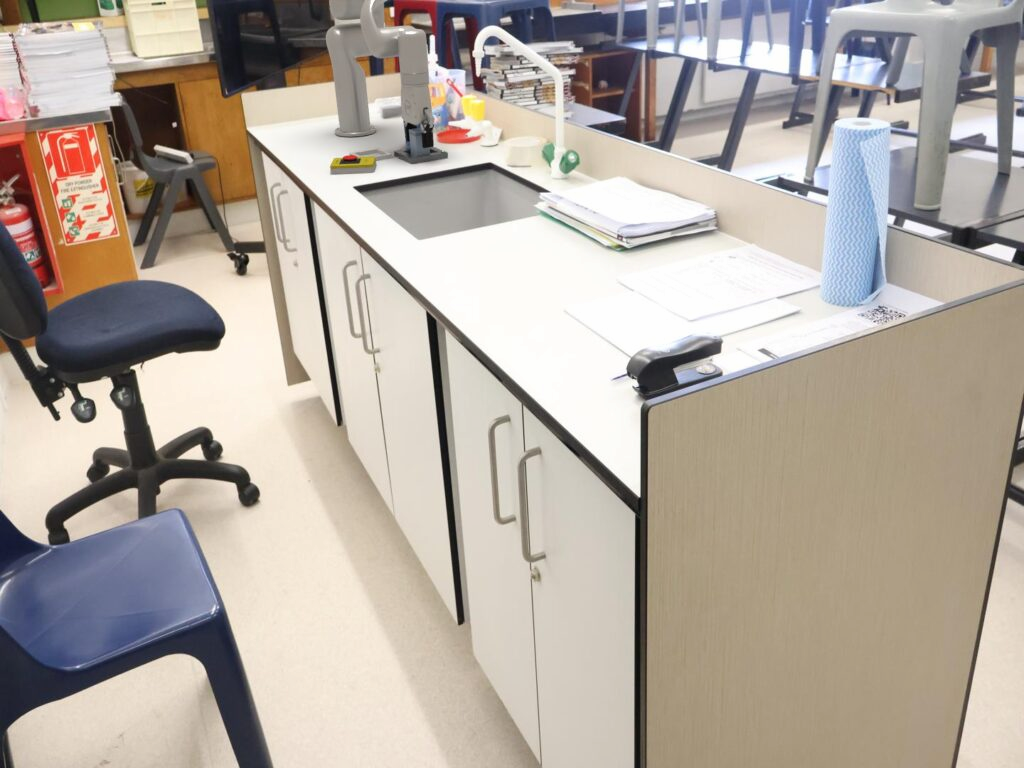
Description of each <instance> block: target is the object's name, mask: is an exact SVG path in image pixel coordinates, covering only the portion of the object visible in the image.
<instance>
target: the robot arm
mask: <svg viewBox="0 0 1024 768" xmlns="http://www.w3.org/2000/svg"><path fill="white" fill-rule="evenodd" d="M328 1H329V2H328V4H329V5H328V6H329V11H330V13H331V14H330V15H331V16H332V17H333V18H334V19H335V20H339V21H353V20H359V21H360V22H351V23H342V24H336V25H333V26H331V27H330V28H328V30H327V32H326V34H325V41H326V42H325V43H326V44H325V45H326V47H327V51H328V55H329V58H330V62H331V66H332V67H331V68H332V74H333V82H334V84H333V85H334V90H335V97H336V107H337V115H338V116H337V117H338V126H339V127H337V128H335V129H334V133H335V135H336V136H339V137H347V138H350V137H351V138H353V137H354V138H355V137H361V136H362V137H364V136H368V135H372V134H375V132H377V130H376V126H374V125H371V119H370V108H369V99H368V89H367V78H366V73H365V70H364V67H362V66H361V65H360V63H359V62H358V61H357V58H360V57H363V58H364V57H371V56H372V57H374V58H377V59H388V58H395V57H398V61H399V71H400V73H399V74H400V86H401V87H400V88H401V89H400V109H401V111H400V112H401V119H402V120H404V121H405V122H404V123H403V126H404V125H405V130H406V140H405V142H406V141H408V142H410V136H409V129H415V128H417V126H416V125H419V124H420V126H421V129H422V131H423V133H421V135H422V147H423V148H429V147H435V145H434V141H435V140H434V127H435V116H434V115H433V109H432V100H431V93H430V88H429V85H430V72H429V57H428V45H427V43H428V42H427V33H426V32H425V31H424V30H423V29H418V28H415V27H414V26H412V25H397V26H388V27H387V26H385V4H384V3H385V2H387V1H388V0H328ZM414 125H415V126H414ZM424 125H426V127H425V126H424ZM406 126H407V127H406Z"/></svg>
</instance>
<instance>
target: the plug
mask: <svg viewBox="0 0 1024 768" xmlns="http://www.w3.org/2000/svg"><path fill="white" fill-rule="evenodd" d="M421 133H423V131H422V129H421V128H415V129H409V136H410V148H411V155H413V156H419V155H425V154H430V147H429V148H423V147H422V135H421Z"/></svg>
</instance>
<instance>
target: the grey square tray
mask: <svg viewBox="0 0 1024 768" xmlns="http://www.w3.org/2000/svg"><path fill="white" fill-rule="evenodd" d="M348 155H356V156H357V157H368V156H374V157H375V158H376V162H377V161H381V160H389V159H392V158H394V157H393V156H394V155H393V153H391V152H389V151H386V150H384V149H382V148H380V147H377V148H371V149H366V150H359V151H353V152H349V153H348Z"/></svg>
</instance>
